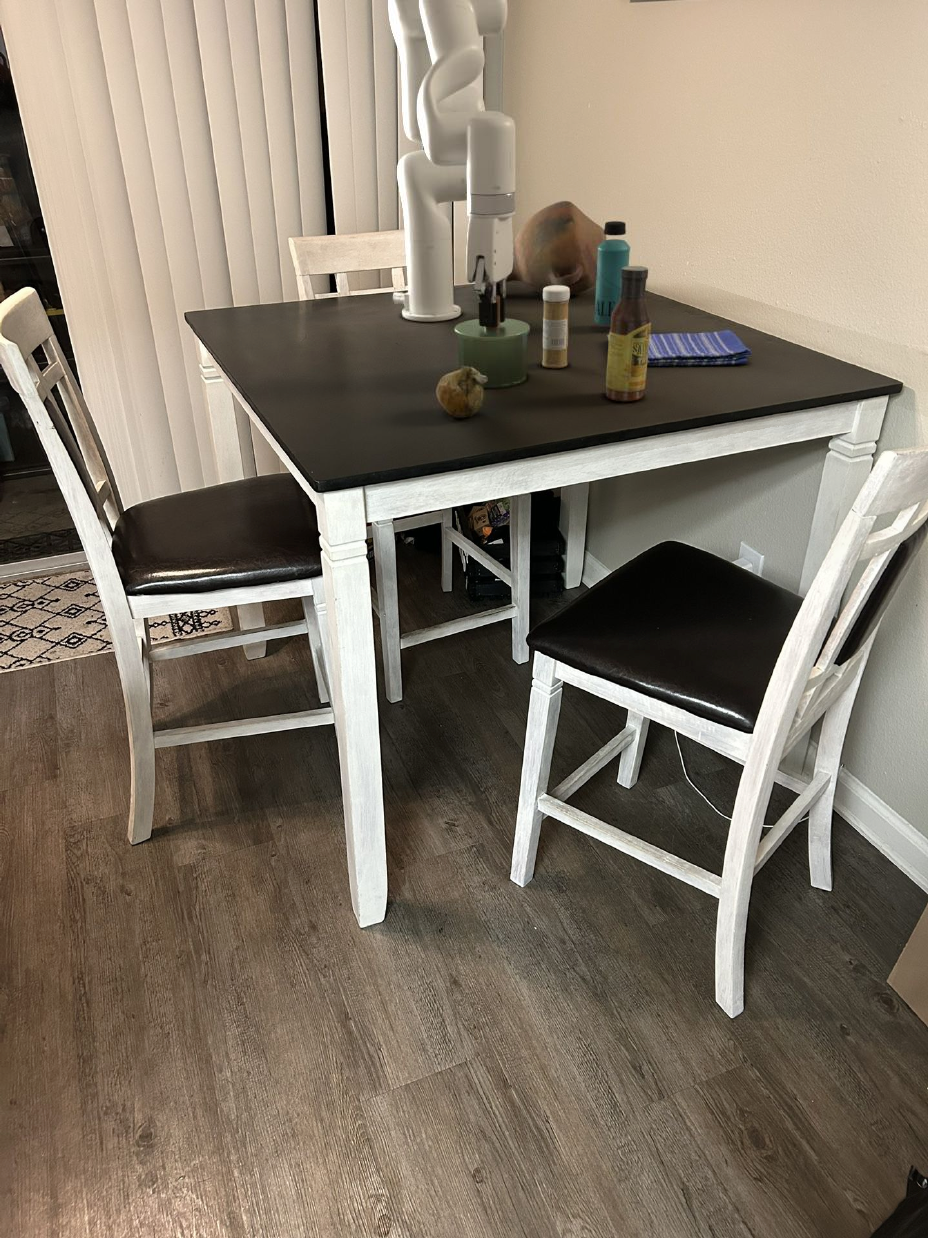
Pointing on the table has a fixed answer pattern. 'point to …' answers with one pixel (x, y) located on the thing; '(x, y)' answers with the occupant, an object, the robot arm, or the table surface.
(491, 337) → the tin lid
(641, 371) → the sauce bottle
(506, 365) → the tin
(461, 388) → the onion
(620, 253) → the beverage bottle
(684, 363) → the dish towel
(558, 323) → the sprinkles bottle
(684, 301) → the table surface
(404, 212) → the robot arm
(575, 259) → the jug
